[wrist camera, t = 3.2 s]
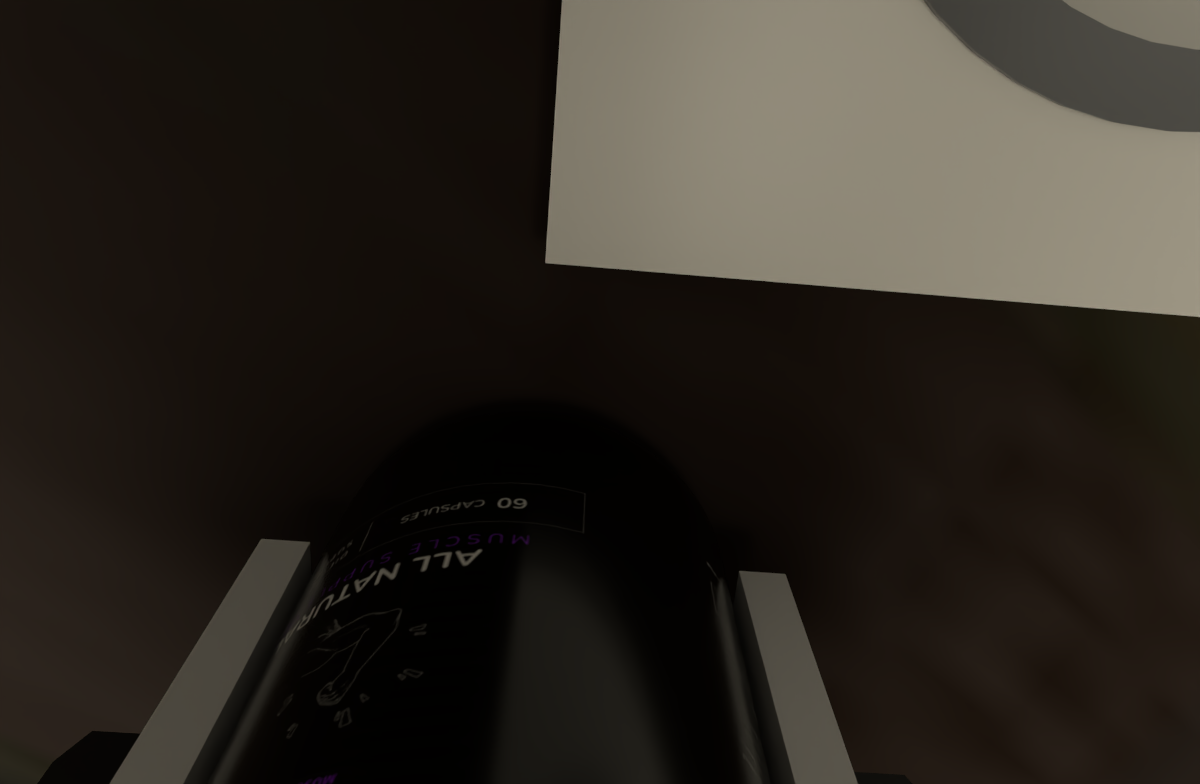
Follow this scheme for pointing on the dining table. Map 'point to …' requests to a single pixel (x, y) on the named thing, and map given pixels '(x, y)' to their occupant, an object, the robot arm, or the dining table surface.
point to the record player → (886, 146)
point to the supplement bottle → (509, 626)
